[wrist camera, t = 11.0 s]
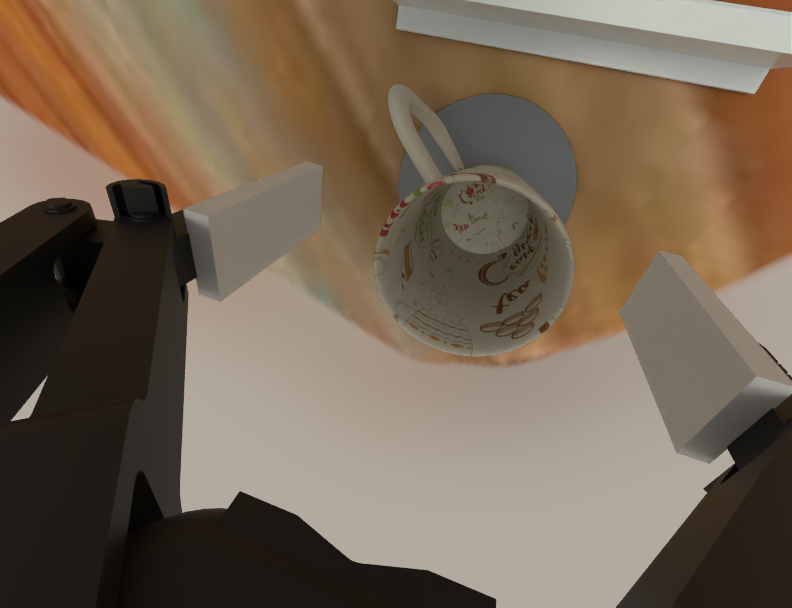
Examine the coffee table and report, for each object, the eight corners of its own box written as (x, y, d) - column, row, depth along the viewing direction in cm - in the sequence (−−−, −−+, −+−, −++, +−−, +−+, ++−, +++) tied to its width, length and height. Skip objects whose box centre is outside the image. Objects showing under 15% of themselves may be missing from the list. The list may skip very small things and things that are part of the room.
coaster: (417, 76, 21) (415, 76, 21) (611, 115, 19) (612, 115, 19) (388, 247, 27) (387, 249, 27) (535, 287, 25) (535, 290, 25)
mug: (460, 289, 27) (435, 377, 18) (361, 134, 23) (276, 158, 15) (575, 235, 23) (610, 318, 14) (477, 38, 19) (447, -4, 11)
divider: (408, -42, 19) (377, -81, 14) (795, 16, 16) (892, -10, 12) (398, 29, 20) (368, 14, 16) (748, 93, 18) (819, 94, 13)
